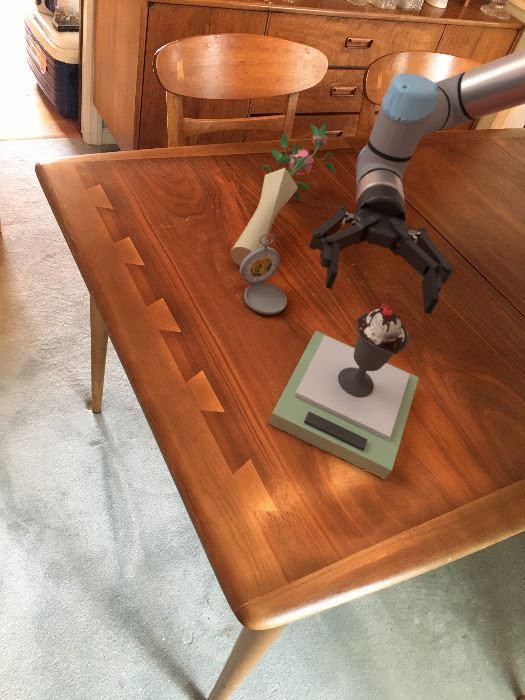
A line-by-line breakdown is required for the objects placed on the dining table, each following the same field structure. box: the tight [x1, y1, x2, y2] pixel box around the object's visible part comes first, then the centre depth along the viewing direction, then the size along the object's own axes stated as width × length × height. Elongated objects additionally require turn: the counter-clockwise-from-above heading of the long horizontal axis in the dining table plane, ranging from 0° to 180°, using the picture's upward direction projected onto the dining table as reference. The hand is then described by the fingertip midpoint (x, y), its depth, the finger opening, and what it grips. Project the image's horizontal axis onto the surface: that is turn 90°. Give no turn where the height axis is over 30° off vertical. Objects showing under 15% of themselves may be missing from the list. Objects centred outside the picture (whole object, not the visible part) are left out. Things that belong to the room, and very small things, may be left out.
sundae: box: [338, 288, 411, 397], centre depth 69 cm, size 7×7×15 cm
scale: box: [267, 330, 420, 480], centre depth 74 cm, size 16×17×3 cm
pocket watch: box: [239, 233, 288, 316], centre depth 83 cm, size 8×8×10 cm
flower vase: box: [229, 122, 337, 267], centre depth 99 cm, size 12×12×35 cm
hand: (382, 293), depth 72 cm, fingers open, 13 cm apart
